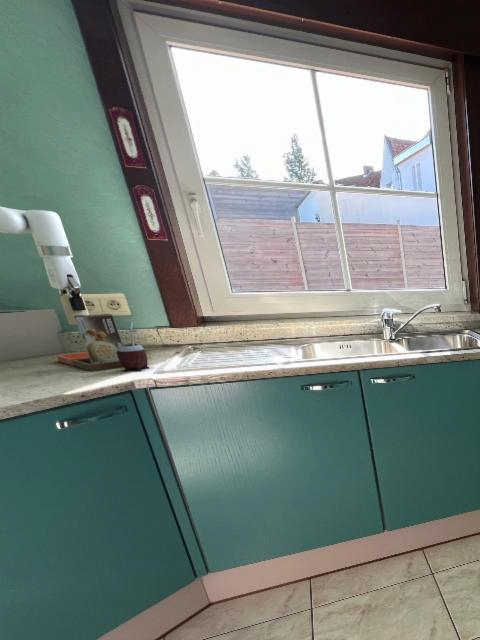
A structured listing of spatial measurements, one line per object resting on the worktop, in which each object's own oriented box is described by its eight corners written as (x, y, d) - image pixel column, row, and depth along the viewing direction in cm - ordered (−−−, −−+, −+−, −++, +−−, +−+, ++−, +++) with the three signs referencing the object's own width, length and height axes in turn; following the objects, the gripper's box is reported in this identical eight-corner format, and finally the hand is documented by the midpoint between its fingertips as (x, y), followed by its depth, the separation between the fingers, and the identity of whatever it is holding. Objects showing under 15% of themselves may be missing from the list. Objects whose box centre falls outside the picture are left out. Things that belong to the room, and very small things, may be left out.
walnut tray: (91, 371, 158) (89, 364, 157) (74, 366, 163) (72, 359, 163) (146, 364, 169) (144, 358, 169) (128, 359, 175) (126, 353, 174)
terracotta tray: (72, 365, 164) (70, 359, 163) (59, 361, 169) (56, 355, 168) (126, 358, 176) (124, 353, 175) (112, 355, 181) (110, 349, 180)
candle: (94, 323, 169) (84, 293, 165) (72, 325, 164) (61, 294, 161) (88, 322, 171) (78, 292, 168) (66, 323, 167) (55, 293, 163)
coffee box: (127, 360, 171) (111, 313, 165) (129, 363, 167) (113, 315, 161) (90, 363, 165) (73, 314, 159) (92, 367, 161) (74, 316, 155)
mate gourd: (126, 372, 157) (111, 325, 152) (118, 369, 161) (102, 322, 156) (155, 369, 163) (141, 323, 158) (146, 365, 167) (132, 320, 162)
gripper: (29, 251, 160) (50, 308, 167) (49, 252, 153) (71, 312, 159) (60, 251, 166) (79, 307, 173) (82, 253, 159) (101, 310, 165)
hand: (75, 309), depth 166 cm, fingers closed on candle, 5 cm apart
